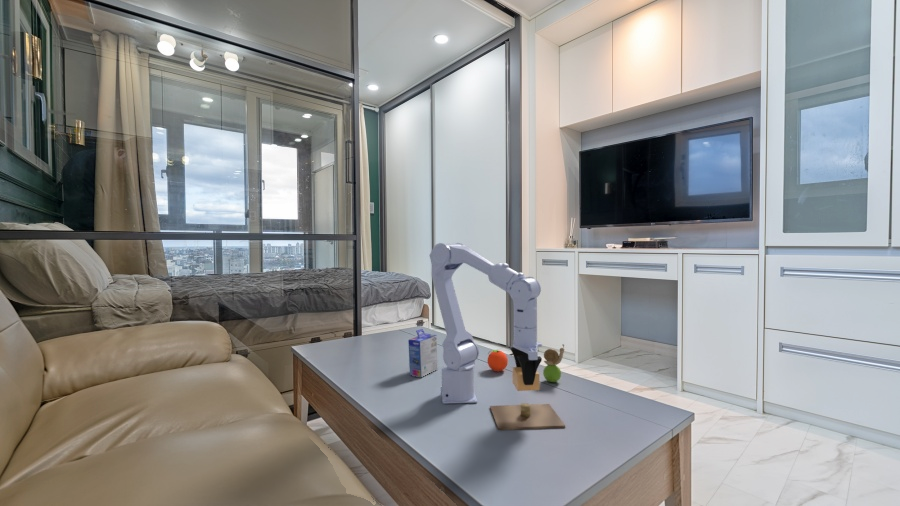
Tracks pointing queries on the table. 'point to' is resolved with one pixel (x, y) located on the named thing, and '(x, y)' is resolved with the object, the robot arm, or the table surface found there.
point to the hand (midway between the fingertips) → (525, 380)
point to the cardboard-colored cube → (520, 384)
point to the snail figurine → (552, 364)
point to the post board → (526, 417)
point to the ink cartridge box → (423, 354)
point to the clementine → (497, 360)
